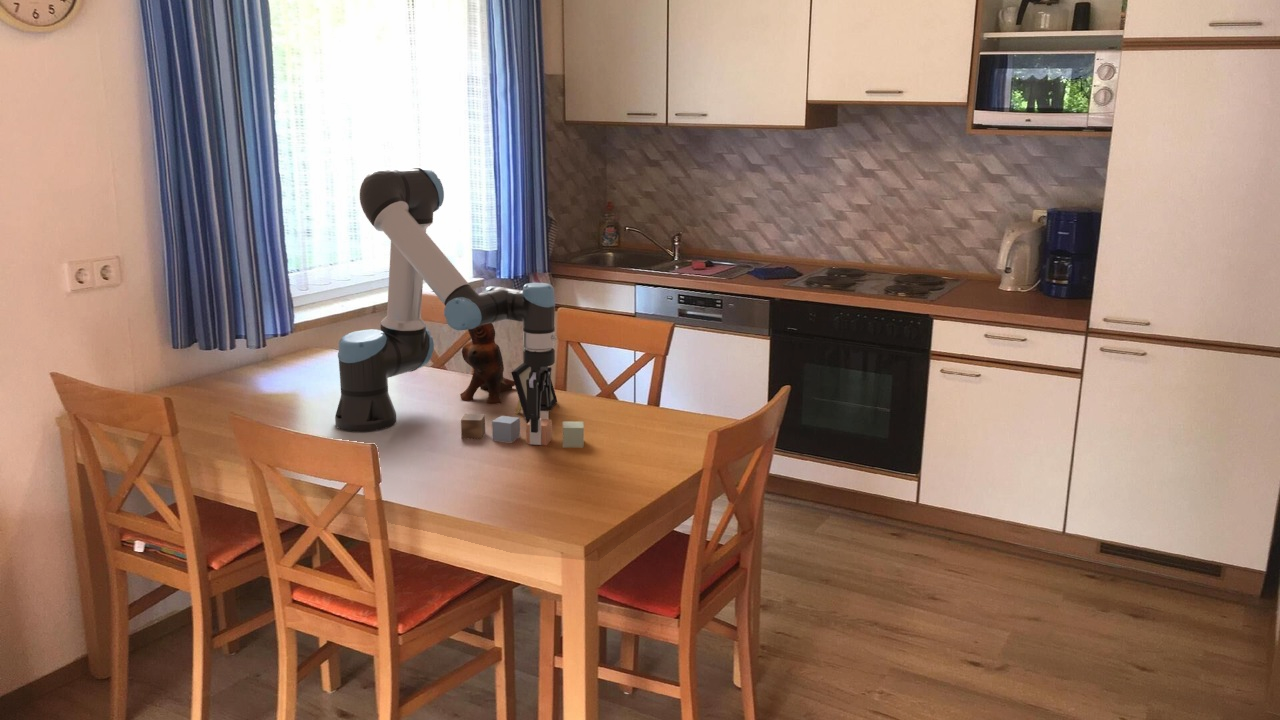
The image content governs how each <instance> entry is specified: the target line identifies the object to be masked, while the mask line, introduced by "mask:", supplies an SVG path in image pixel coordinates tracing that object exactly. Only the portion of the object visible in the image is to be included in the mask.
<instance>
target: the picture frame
mask: <svg viewBox="0 0 1280 720" xmlns="http://www.w3.org/2000/svg"><path fill="white" fill-rule="evenodd" d="M530 372H531V367H530V366H527V365H525V364H524V362H522V363H521V364H520V365H518V366H517V367H516V368H515V369H514V370H512V371H511V372H510V374H511V375H512V379H513V380H512V381H514V383H515V386H514V387H515V389H516V392H517V396H518V402H517V404H516V408H515V410H514V412H515V414H516V415H519V413H520V411H521V410H522V413H523V416H524V419H525V422H526V424H527V423H528V422H529V421H530V419H526V416H527V386H526V380H527V379H529V373H530ZM557 403H558V399H557V395H556V392H555V387H554V386H553V381H552V380H551V405H550V406H549V407H552V408H553V407H554V406H555V405H556V404H557ZM547 411H548V412H549V411H550V410H547Z"/></svg>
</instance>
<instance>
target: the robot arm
mask: <svg viewBox="0 0 1280 720" xmlns="http://www.w3.org/2000/svg"><path fill="white" fill-rule="evenodd" d="M444 198H445V192H444V186H443V183H442V180H441V179H440V178H439V177H438V174H436V173H435V171H433V170H432V169H430V168H429V167H425V166H416V165H408V166H399V167H396V166H395V167H381V168H376V169H375V170H373V171H371V172H370V173H369V174H368V175H366V177H365V178H364V179H363V180H362V183H361V185H360V189H359V201H360V202H359V203H360V206H361V209H362V211H363V214H364V215H365V218H367V220H368V222H369V223H370V224H371V225H372V227H373V228H375V230H376V231H378V232H384V234H385V235H386V236H387V238H389V240H390V251H389V271H388V272H389V273H388V289H387V290H388V291H387V308H386V309H387V311H386V312H387V313H386V316H385V317H383V318H382V319H381V321H380V327H379V328H380V329H376V328H375V329H371V328H367V329H363V330H360V329H358V330H355V331H352V332H349V333H346V334H345V335H343V336H342V337H341V338H340V339H339V341H338V352H337V359H338V368H339V370H338V371H339V381H340V384H339V385H340V398H339V402H338V404H337V409H336V411H335V417H334V419H335V420H334V421H335V426H336V428H337V427H338V428H337V429H339V430H342V431H347V432H352V433H353V432H358V433H359V432H360V433H362V432H376V431H380V430H381V431H382V430H385V429H388V428H390V427H392V426H394V425H395V424H396V423H397V411H396V409H395V407H394V404H393V401H392V399H391V396H390V394H389V383H388V382H389V381H388V378H392V377H395V376H399V375H402V374H405V373H409V372H410V373H412V372H415V371H416V370H419V369H421V368H423V367H425V366H426V365H427V364H428V363H429V361H431V359H432V356H433V354H434V349H435V348H434V347H435V343H434V338H433V337H432V336H431V335H432V333H431V332H430V330H429V329H428V328H427V323H426V322H425V320H423V319H422V317H421V315H422V301H423V287H424V286H423V285H424V282H425V283H426V285H428V287H429V288H430V289H431V290H432V291H433V293H434V294H435V295H436V296H437V297H438V299H439V301H441V302H442V304H444V310H443V313H444V314H443V316H444V317H445V319H446V323H447V325H448V326H449V327H450V328H451V329H453V330H455V331H466V330H468V329H474V328H476V327H478V326H482V325H485V324H490V323H492V324H494V323H497V322H498V323H499V322H501V321H507V320H508V321H510V320H511V321H515V322H522V329H523V330H522V346H523V347H524V348H523V349H522V350H523V351H522V353H523V355H522V356H523V357H522V360H523V362H522V363H524V364H525V365H527V366H530V367H531V372H530V373H529V379H527V380H526V386H527V416H526V419H530V444H529V445H534V446H535V445H536V446H542V445H541V419H547V420H549V411H552V410H553V407H549V406H550V405H551V381H552V365H554V364H555V363H556V361H555V360H556V359H555V358H556V354H555V353H556V350H555V349H554V347H555V340H557V339H558V336H557V335H555V330H556V329H555V318H556V317H555V316H556V315H555V314H556V309H555V308H556V298H555V297H556V296H555V287H554V286H553V285H552V284H550V283H545V282H529V283H525V284H524V285H523V287H522V289H518V288H517V289H516V288H509V287H504V286H502V285H501V286H499V285H498V286H495V285H494V286H492V285H491V286H487V287H486V288H484V289H483V290H482V291H481V292H480V293H478V292H477V291H476V290H475V289H474V288H473V287H472V286H471V284H470V283H469V282H468V281H467V279H465V277H464V276H463V275H462V274H461V273H460V272H459V270H458V269H457V268H456V266H455V265H454V264H453V263H452V262H451V261H450V259H449V258H448V257H447V256H446V255H445V254H444V252H443V251H442V250H441V248H439V246H438V245H437V244H436V243H435V241H434V240H433V239H432V238H431V237H430V236H429V235H428V233H427V229H428V227H430V226H431V225H432V224H433V223H434V213H436V212H437V211H438V210H439V209H440V207H442V205H443V203H444ZM547 410H549V411H547Z"/></svg>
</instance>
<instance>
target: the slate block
mask: <svg viewBox="0 0 1280 720" xmlns="http://www.w3.org/2000/svg"><path fill="white" fill-rule="evenodd" d="M491 426H492V427H491V428H492V429H491V431H492V432H491V433H492V434H491V435H492V437H491V439H492V441H495V442H501V443H502V442H503V443H508V444H509V443H510V444H512V443H513V442H514V441H516V440H517V439H519V438H520V437H521V418H520V417H517V416H508V415H507V416H506V415H500V416H499V417H497V418H495V419H494V420H492V421H491Z"/></svg>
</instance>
